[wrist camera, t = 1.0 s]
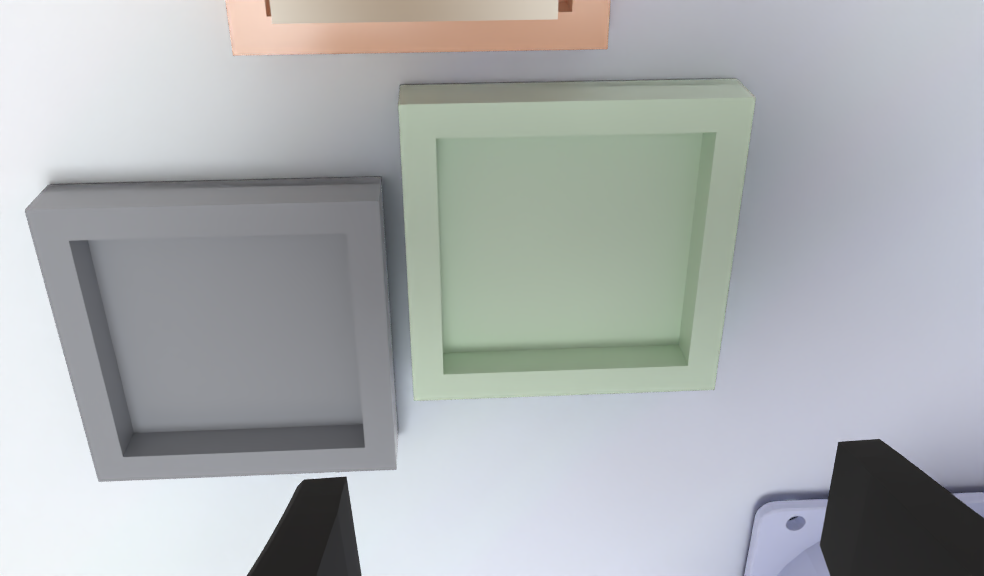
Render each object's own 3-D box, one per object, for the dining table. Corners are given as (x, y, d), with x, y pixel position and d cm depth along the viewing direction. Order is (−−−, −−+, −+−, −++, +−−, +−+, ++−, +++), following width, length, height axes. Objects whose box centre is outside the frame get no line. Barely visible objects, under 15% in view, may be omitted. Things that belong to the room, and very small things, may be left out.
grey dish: (381, 176, 20) (378, 201, 19) (398, 435, 23) (396, 469, 22) (48, 184, 19) (24, 209, 18) (114, 446, 23) (98, 481, 22)
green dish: (736, 78, 19) (756, 97, 18) (699, 358, 23) (714, 389, 21) (400, 84, 19) (397, 104, 18) (414, 369, 22) (413, 400, 21)
